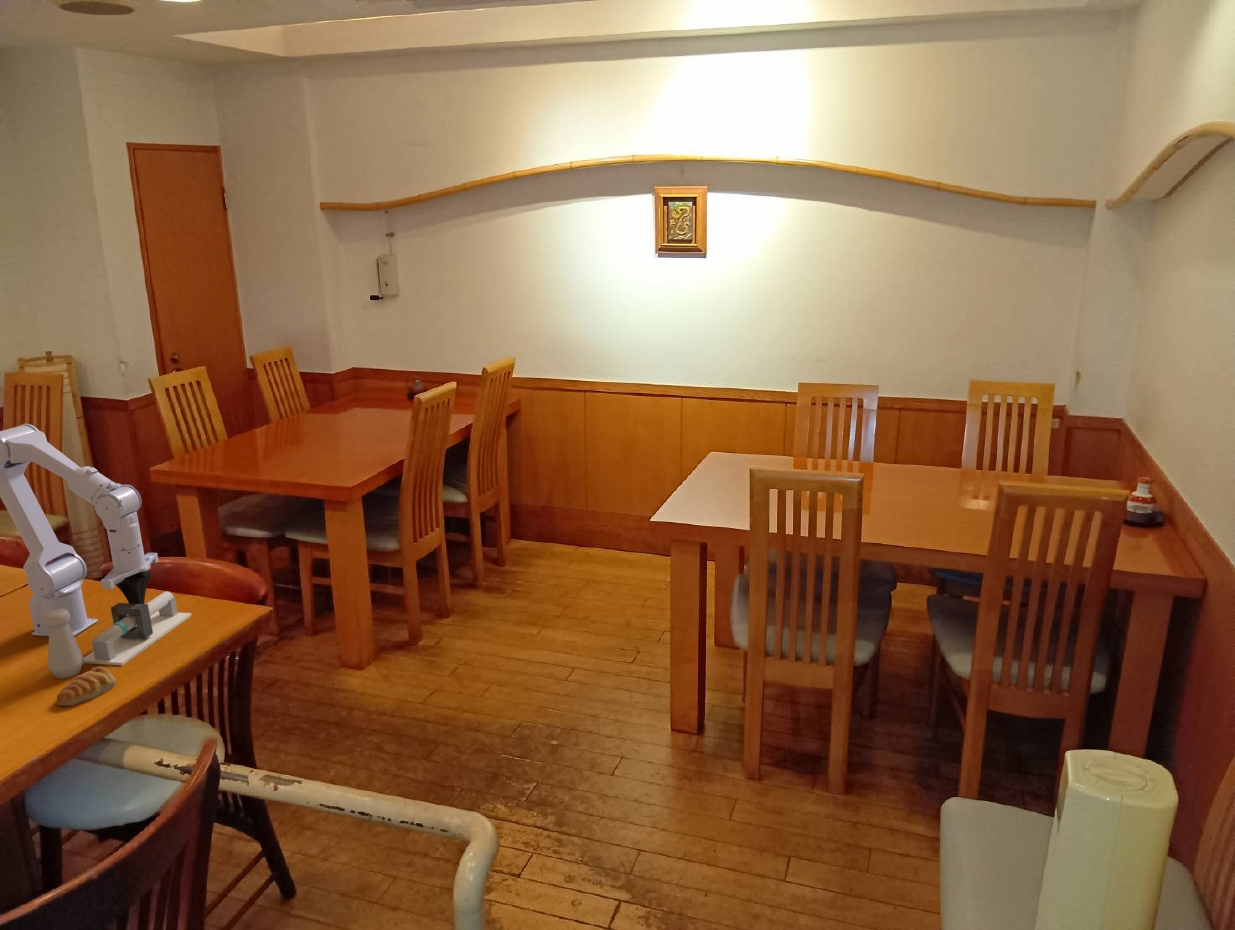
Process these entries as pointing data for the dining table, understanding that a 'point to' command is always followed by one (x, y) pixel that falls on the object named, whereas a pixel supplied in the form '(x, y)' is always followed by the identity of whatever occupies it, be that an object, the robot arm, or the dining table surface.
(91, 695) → the pastry
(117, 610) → the grey square collar
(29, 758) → the dining table surface
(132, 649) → the pipe rail
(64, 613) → the salt shaker
